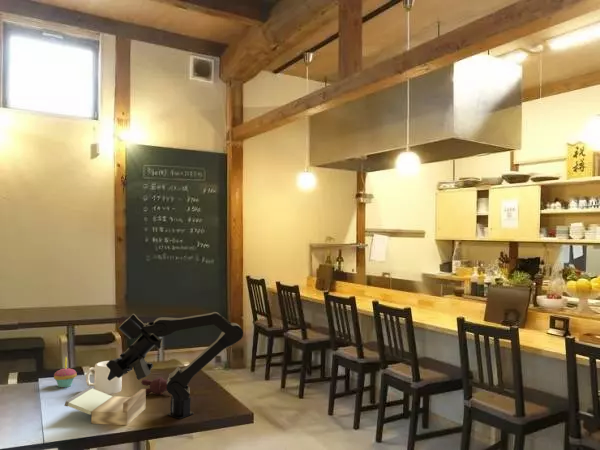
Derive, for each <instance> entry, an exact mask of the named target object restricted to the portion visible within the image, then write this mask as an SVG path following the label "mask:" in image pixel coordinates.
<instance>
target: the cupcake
mask: <svg viewBox="0 0 600 450" xmlns="http://www.w3.org/2000/svg"><path fill="white" fill-rule="evenodd" d="M67 365H68V357H67V356H65V359H64V368H60V369H58V370H56V372H54V374H53V379H54V380H55V381H56V383H57V387H58V388H60V387H65V388H69V387H71V386H72V384H73V381H74V379H75V378H76V377H77V373H78V372H77V371H76V369H73V368H69V367H68V366H67ZM67 367H68V368H67Z"/></svg>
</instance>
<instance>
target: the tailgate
mask: <svg viewBox="0 0 600 450" xmlns="http://www.w3.org/2000/svg"><path fill="white" fill-rule="evenodd" d="M111 397H113V395H111V394H105V393H103V392H100V391H98V390H95V389H94V388H93V386H88V387H87V388H85V389H84V390H82V391H80V392H78V393H77V394H75V395H73V396H72V397H69V398H68V399H67V400H65V402H64V405H63V406H64V407H70V408H72V409H75V410H77V411H79V412H82V413H85V414H86V415H90V416H91V414H92V411H93V410H94V409H96V408H97V407H98V406H100V405H101V404H103V403H104V402H106V401H107V400H108V399H110V398H111Z"/></svg>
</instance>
